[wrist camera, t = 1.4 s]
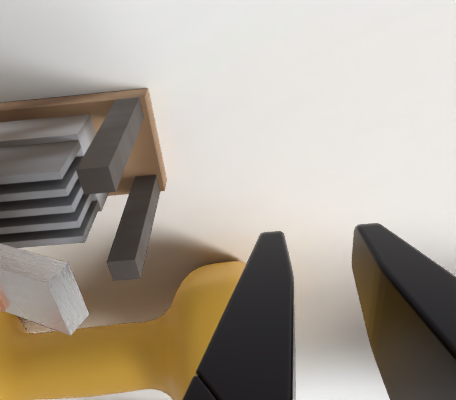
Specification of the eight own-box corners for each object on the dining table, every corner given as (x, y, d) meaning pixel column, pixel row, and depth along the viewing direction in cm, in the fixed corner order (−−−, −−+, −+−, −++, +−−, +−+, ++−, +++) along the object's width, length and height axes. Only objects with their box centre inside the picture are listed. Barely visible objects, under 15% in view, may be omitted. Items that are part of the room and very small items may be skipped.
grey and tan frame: (148, 88, 19) (107, 183, 12) (166, 179, 21) (141, 298, 15) (-90, 111, 19) (-250, 215, 13) (-44, 198, 22) (-158, 321, 15)
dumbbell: (-10, 363, 29) (-81, 500, 23) (-81, 263, 24) (-199, 400, 18) (271, 336, 28) (286, 472, 21) (257, 224, 23) (270, 357, 16)
